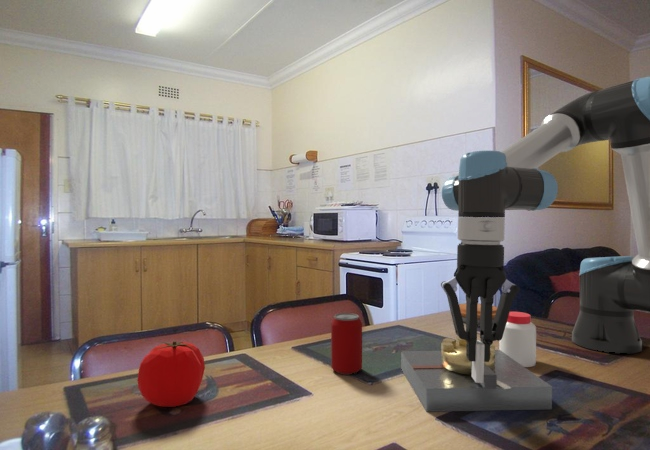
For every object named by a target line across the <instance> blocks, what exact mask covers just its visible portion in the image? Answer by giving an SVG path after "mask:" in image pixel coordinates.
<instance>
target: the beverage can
mask: <svg viewBox="0 0 650 450" xmlns="http://www.w3.org/2000/svg"><path fill="white" fill-rule="evenodd" d="M330 326H331V327H330V329H331V331H330V332H331V334H330V337H331V339H330V342H331V343H330V348H331V349H330V350H331V351H330V352H331V353H330V355H331V356H330V359H331V360H330V362H331V363H330V364H331V369H333V370H334V371H335V372H336V373H338V374H341V375H353V374H352V373H354V374H356V373H357V372H360V371H361V370H362V368H363V322H362V320H361V319H360V315H358V314H356V313H352V312H351V313H350V312H342V313H341V312H340V313H336V314H334V317H333V319H332V320H331V325H330ZM355 372H356V373H355Z"/></svg>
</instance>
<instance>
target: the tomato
mask: <svg viewBox="0 0 650 450" xmlns="http://www.w3.org/2000/svg"><path fill="white" fill-rule="evenodd" d="M205 365H206V364H205V358H204V356H203V354H202V353H201V350H200V349H199V348H198V347H197V346H196V345H195V344H193V343H191V342H182V341H179V342H177V341H176V340H175V341H174V340H173V341H172V342H166V341H162V344H160V345H157V346H154V347H153V348H152V349H150V351H149V352H148V353H147V354H146V355H145V356H144V357H143V359H142V360H141V362H140V365H139V369H138V372H137V379H136V380H137V385H138V386H137V387H138V390H139V392H140V394H141V396H142V397H143V398H144V399H145V400H146V402H148V403H149V404H152V405H153V406H158V407H171V408H172V407H173V408H175V407H176V406H177V407H179V406H182V405H186V404H188V403H189V402H190V401H192V400H194V398H195V396H196V395H197V393H198V392H199V389H200V387H201V383H202V381H203V378H204V373H205V369H206V366H205ZM177 407H176V408H177Z"/></svg>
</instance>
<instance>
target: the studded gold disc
mask: <svg viewBox="0 0 650 450" xmlns="http://www.w3.org/2000/svg"><path fill="white" fill-rule="evenodd" d="M466 344H467V342H466V340H464V339H460V338H459V336H456V337H455V338H454V339H453V338H449V337H446V338H443V339H442V342H441V343H440V345H441V346H440V349H441V350H440V351H441V364H442V366H443V367H445V368H446V369H448V370H451V371H454V372H457V373H462V374H469V375H472V361H469V360H468V359H467V356H466ZM495 350H496V345H495V344H494V342H493V343H492V345H490V360H489V362H484V383H480V384H481V385H482V386H483V388H484V389H497V375H496V374H495V373H494V371H495Z"/></svg>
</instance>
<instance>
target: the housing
mask: <svg viewBox="0 0 650 450" xmlns="http://www.w3.org/2000/svg"><path fill="white" fill-rule="evenodd" d="M400 359H401V360H400V364H401V365H400V370H401V369H402V370H401V372H402V371H403V372H402V373H403V375H404V377H405V378H406V380H407V382H408V383H409V385H410V387H411V388H412V391H413V392H414V393H415V394H416V397H417V398H418V400H419V402H420V403H421V405H422V407H423V408H424V410H425V412H426V413H428V412H429V413H430V412H431V413H432V412H433V413H434V412H438V413H439V412H482V411H484V412H486V411H526V410H527V411H533V410H534V411H535V410H536V411H539V410H552V409H553V386H552V385H550V383H548V382H546V381H545V380H543V379H542V378H541V377H540V376H538V375H536V374H535V373H533V372H532V371H531V370H529V369H528V368H527V367H523V366H522V365H521V364H519V363H518V362H516V361H515V360H513V359H512V358H511V357H509V356H508V355H506V354H505V353H503V352H502V351H501V350H499V349H495V371H494V373H495V374H496V375H497V389H484V388H483V386H482V385H481V384H480V383H476V382H475V381H474V379H473V378H472V377H471V375H469V374H462V373H457V372H454V371H451V370H448V369H446V368H445V367H443V366H442V364H441V350H404V351H403V350H402V351H401V352H400Z"/></svg>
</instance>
